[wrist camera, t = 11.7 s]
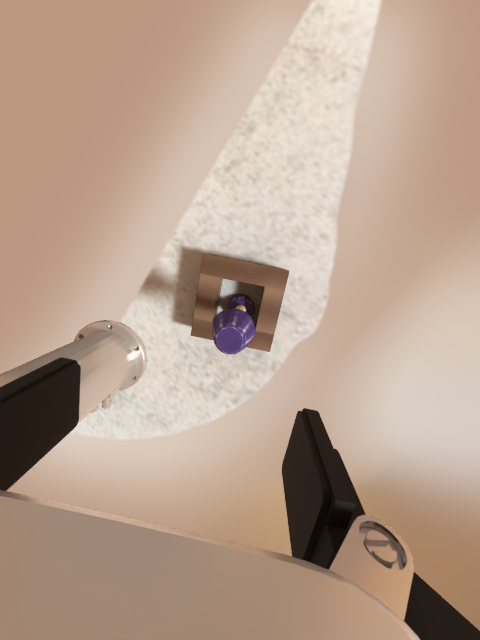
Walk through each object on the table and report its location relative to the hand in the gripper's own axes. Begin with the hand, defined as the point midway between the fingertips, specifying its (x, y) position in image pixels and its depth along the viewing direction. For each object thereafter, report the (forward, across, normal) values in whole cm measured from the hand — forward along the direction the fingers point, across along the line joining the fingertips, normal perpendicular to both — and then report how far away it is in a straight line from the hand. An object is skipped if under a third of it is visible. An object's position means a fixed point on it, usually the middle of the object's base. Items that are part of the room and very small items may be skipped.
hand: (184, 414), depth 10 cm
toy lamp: (+29, -1, 0) cm, 29 cm away
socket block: (+29, 0, 0) cm, 29 cm away
